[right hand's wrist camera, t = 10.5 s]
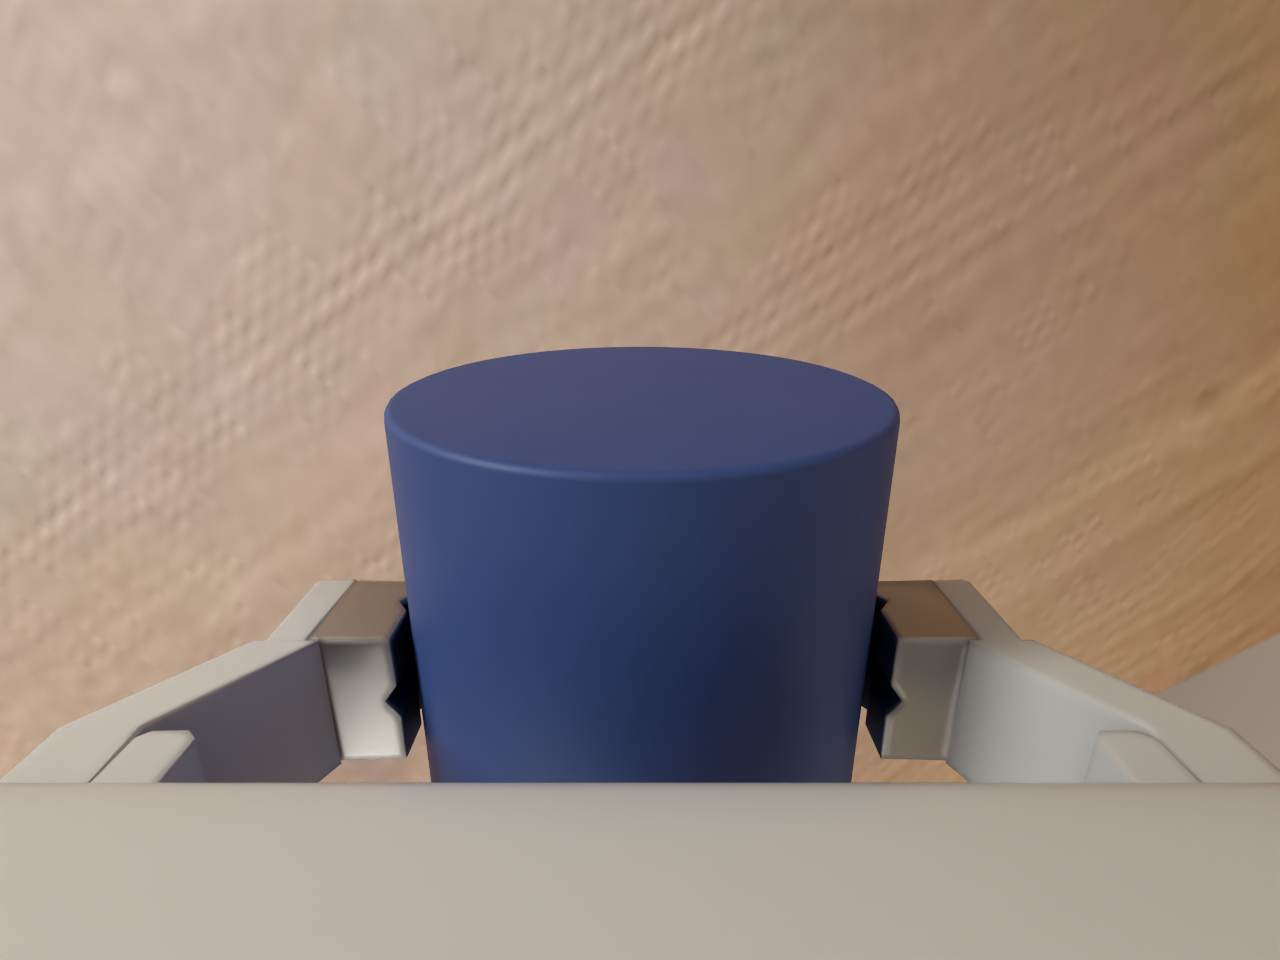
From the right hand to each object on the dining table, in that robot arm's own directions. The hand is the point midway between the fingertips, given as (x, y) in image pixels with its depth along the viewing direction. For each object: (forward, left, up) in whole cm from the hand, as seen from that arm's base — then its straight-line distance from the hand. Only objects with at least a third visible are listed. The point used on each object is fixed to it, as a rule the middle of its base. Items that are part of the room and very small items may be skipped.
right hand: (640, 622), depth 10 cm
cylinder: (+8, +4, -3) cm, 9 cm away
